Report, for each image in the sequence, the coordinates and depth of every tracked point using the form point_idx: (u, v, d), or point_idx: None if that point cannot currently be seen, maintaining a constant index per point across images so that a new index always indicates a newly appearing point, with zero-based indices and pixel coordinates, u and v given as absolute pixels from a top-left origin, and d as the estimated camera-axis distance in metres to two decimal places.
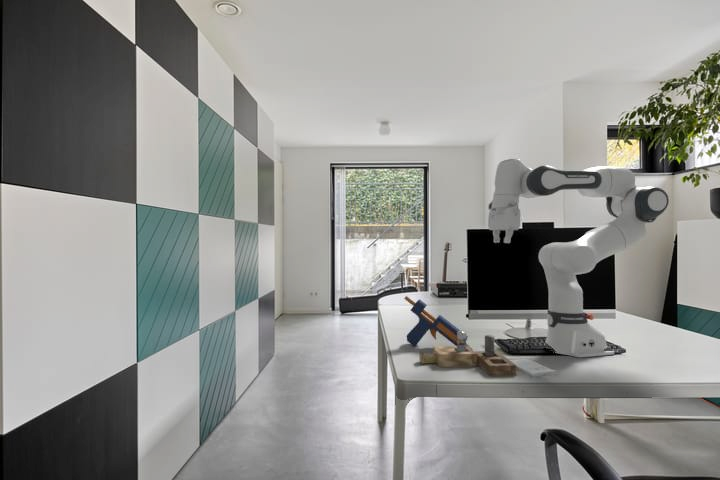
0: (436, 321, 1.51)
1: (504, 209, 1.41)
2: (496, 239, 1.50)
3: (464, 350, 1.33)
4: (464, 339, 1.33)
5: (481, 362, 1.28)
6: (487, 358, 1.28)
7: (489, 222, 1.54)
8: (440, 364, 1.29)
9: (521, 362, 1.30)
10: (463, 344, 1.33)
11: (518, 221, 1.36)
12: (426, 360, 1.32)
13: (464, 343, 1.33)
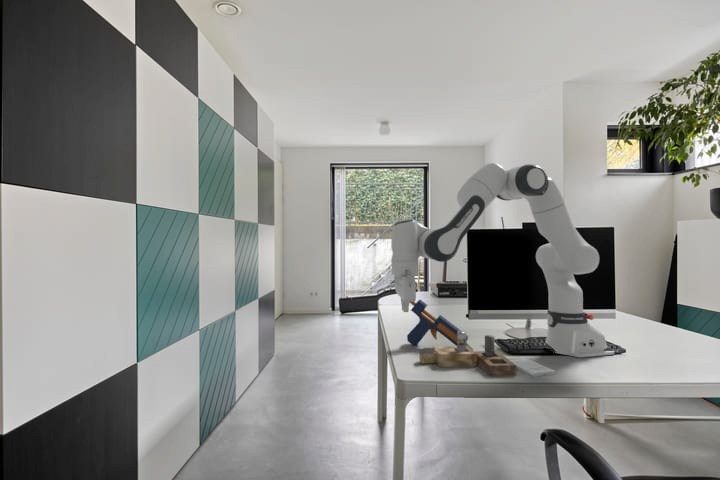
0: (437, 321, 1.51)
1: (401, 277, 1.29)
2: None
3: (464, 350, 1.33)
4: (464, 339, 1.33)
5: (481, 362, 1.28)
6: (487, 358, 1.28)
7: (395, 285, 1.42)
8: (440, 364, 1.29)
9: (521, 362, 1.30)
10: (463, 344, 1.33)
11: (413, 292, 1.23)
12: (426, 360, 1.32)
13: (464, 343, 1.33)
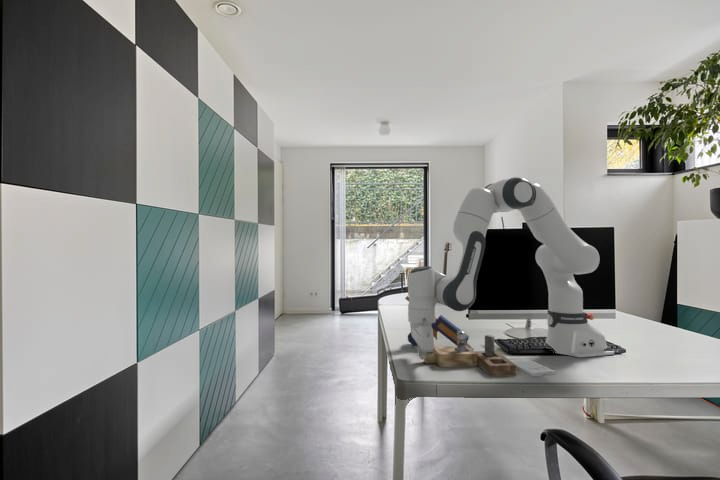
0: (437, 321, 1.51)
1: (418, 325, 1.29)
2: None
3: (464, 350, 1.33)
4: (464, 339, 1.33)
5: (481, 362, 1.28)
6: (487, 358, 1.28)
7: (411, 329, 1.42)
8: (440, 364, 1.29)
9: (521, 362, 1.30)
10: (463, 344, 1.33)
11: (431, 343, 1.24)
12: (430, 360, 1.33)
13: (464, 343, 1.33)
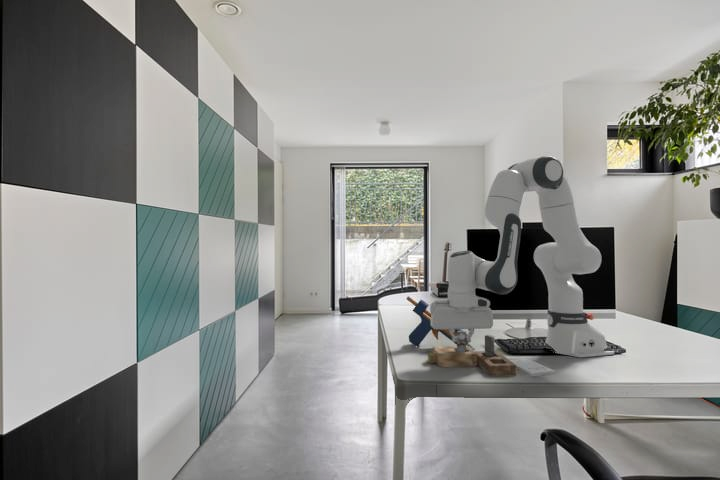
0: None
1: None
2: None
3: (464, 350, 1.33)
4: (464, 339, 1.33)
5: (481, 362, 1.28)
6: (487, 358, 1.28)
7: None
8: (440, 364, 1.29)
9: (521, 362, 1.31)
10: (463, 344, 1.33)
11: (432, 320, 1.33)
12: (434, 360, 1.33)
13: (464, 343, 1.33)
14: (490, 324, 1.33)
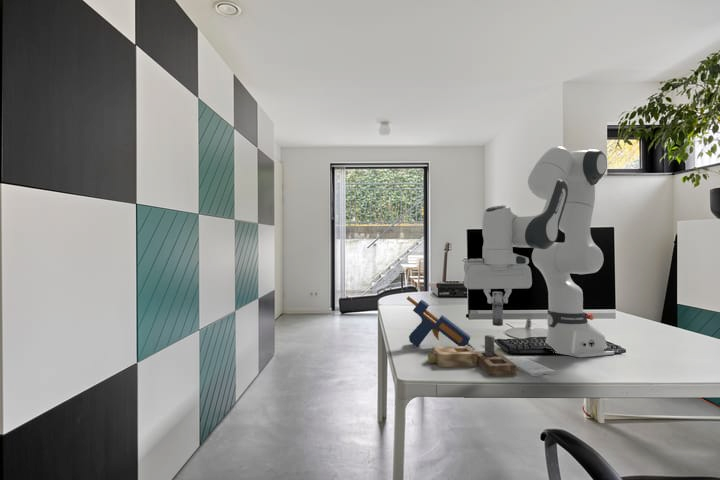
0: (439, 321, 1.50)
1: None
2: None
3: (501, 311, 1.24)
4: (501, 300, 1.24)
5: (481, 362, 1.28)
6: (487, 358, 1.28)
7: None
8: (440, 364, 1.29)
9: (521, 362, 1.31)
10: (500, 305, 1.24)
11: (466, 279, 1.23)
12: (434, 360, 1.33)
13: (501, 304, 1.24)
14: (528, 283, 1.23)
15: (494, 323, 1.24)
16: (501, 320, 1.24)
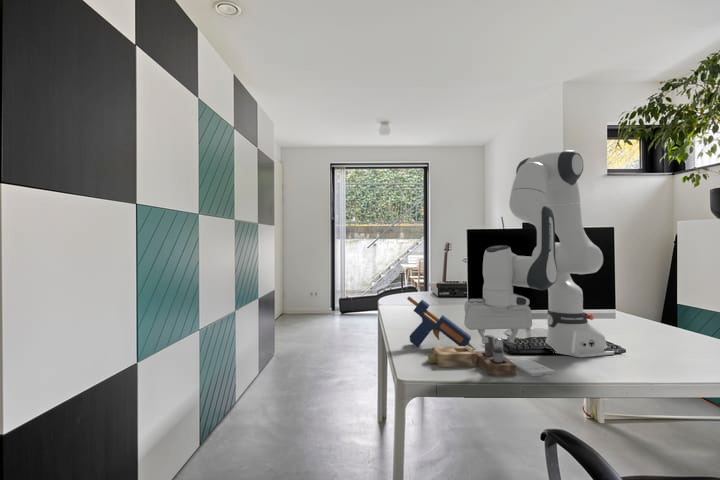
0: (439, 321, 1.50)
1: None
2: (508, 339, 1.26)
3: (501, 358, 1.24)
4: (501, 346, 1.24)
5: (481, 362, 1.28)
6: (487, 358, 1.28)
7: None
8: (440, 364, 1.29)
9: (521, 362, 1.31)
10: (500, 352, 1.24)
11: (467, 320, 1.23)
12: (434, 360, 1.33)
13: (501, 351, 1.24)
14: (529, 323, 1.23)
15: None
16: None
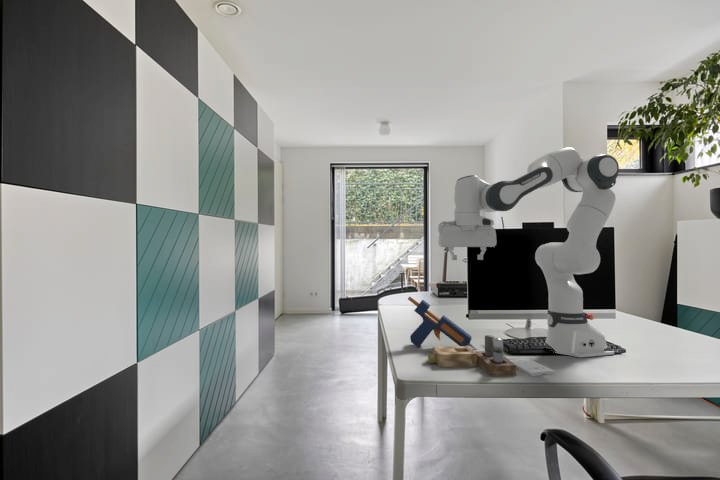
0: (440, 321, 1.50)
1: None
2: (478, 256, 1.46)
3: (501, 358, 1.24)
4: (501, 346, 1.24)
5: (481, 362, 1.28)
6: (487, 358, 1.28)
7: None
8: (440, 364, 1.29)
9: (521, 362, 1.31)
10: (500, 352, 1.24)
11: (440, 239, 1.43)
12: (434, 360, 1.33)
13: (501, 351, 1.24)
14: (493, 242, 1.43)
15: None
16: None
